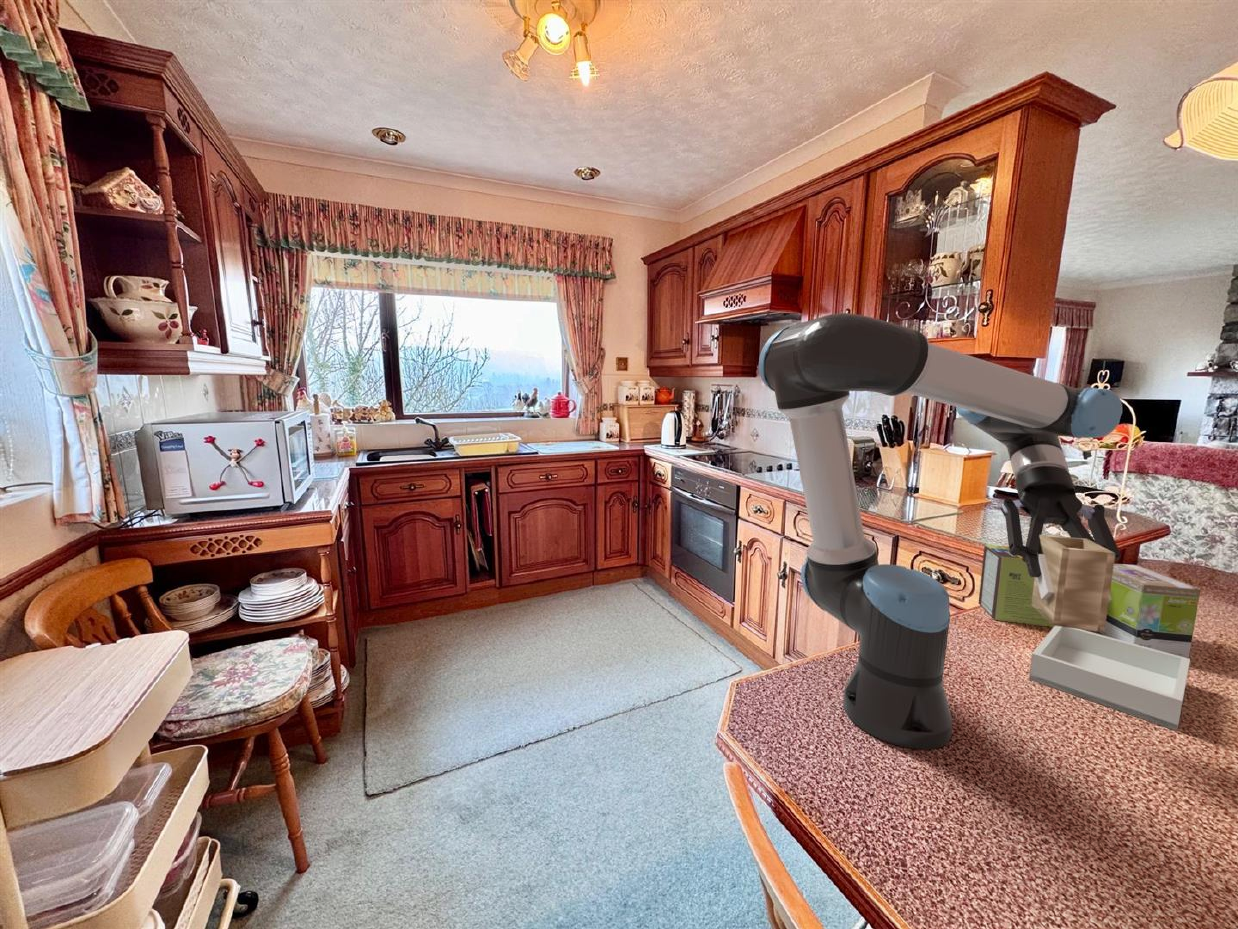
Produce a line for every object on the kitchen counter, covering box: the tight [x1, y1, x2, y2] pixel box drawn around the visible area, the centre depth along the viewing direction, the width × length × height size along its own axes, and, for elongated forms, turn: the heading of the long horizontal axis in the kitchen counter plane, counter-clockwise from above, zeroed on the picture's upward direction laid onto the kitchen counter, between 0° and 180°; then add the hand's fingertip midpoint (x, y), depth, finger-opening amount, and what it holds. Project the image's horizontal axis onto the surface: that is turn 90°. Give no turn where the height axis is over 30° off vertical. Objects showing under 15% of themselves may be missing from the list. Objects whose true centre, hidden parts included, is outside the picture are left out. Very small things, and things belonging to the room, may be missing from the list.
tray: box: [1028, 626, 1191, 732], centre depth 88 cm, size 18×20×5 cm
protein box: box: [978, 544, 1054, 628], centre depth 115 cm, size 10×15×16 cm
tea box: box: [1098, 563, 1201, 659], centre depth 104 cm, size 15×10×15 cm
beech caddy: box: [1031, 534, 1115, 633], centre depth 76 cm, size 6×8×12 cm
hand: (1075, 599), depth 74 cm, fingers closed on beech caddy, 6 cm apart
